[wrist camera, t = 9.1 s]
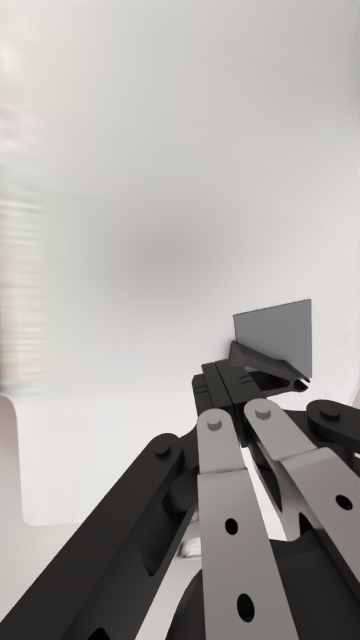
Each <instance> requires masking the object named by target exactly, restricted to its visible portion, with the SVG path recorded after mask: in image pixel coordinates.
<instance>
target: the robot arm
mask: <svg viewBox="0 0 360 640" xmlns="http://www.w3.org/2000/svg"><path fill="white" fill-rule="evenodd" d="M201 367H202V371H203V374H199V375H194V377H193V380H192V387H193V393H194V398H195V404H196V409H197V415H198V419H197V423H196V426H195V427H194V428H193V429H192V430H191V431H190V432H189V433H187V434H186V435H184V436H182V437H180V438H178V437H177V436H176V435H174V434H172V433H164V434H160V435H158V436H156V437H155V438H153V439H152V440H151V441H150V442H149V443H148V445H147V446H146V447H145V448H144V449H143V451H142V452H141V453H140V454H139V456H138V457H137V458H136V459H135V460H134V462H133V463H132V464H131V465H130V466H129V468H128V469H127V470H126V471H125V472H124V474H123V475H122V476H121V477H120V479H119V480H118V481H117V482H116V483H115V485H114V486H113V487H112V488H111V489H110V491H109V492H108V493H107V494H106V495H105V497H104V498H103V499H102V500H101V502H100V503H99V504H98V505H97V506H96V508H95V509H94V510H93V511H92V512H91V514H90V515H89V516H88V517H87V518H86V520H85V521H84V522H83V523H82V524H81V526H80V527H79V528H78V529H77V531H76V532H75V533H74V534H73V536H72V537H71V538H70V539H69V540H68V541H67V543H66V544H65V545H64V546H63V547H62V549H61V550H60V551H59V552H58V554H57V555H56V556H55V557H54V558H53V560H52V561H51V562H50V563H49V564H48V566H47V567H46V568H45V569H44V570H43V572H42V573H41V574H40V575H39V577H38V578H37V579H36V580H35V581H34V583H33V584H32V585H31V586H30V587H29V589H28V590H27V591H26V592H25V593H24V595H23V596H22V597H21V598H20V600H19V601H18V602H17V603H16V604H15V606H14V607H13V608H12V609H11V610H10V612H9V613H8V614H7V615H6V616H5V618H4V619H3V620H2V621H1V623H0V640H135V638H136V636H137V634H138V631H139V629H140V627H141V625H142V623H143V621H144V619H145V617H146V614H147V612H148V610H149V608H150V606H151V604H152V602H153V599H154V597H155V595H156V593H157V591H158V589H159V587H160V585H161V582H162V580H163V578H164V576H165V574H166V572H167V570H168V567H169V565H170V563H171V561H172V559H173V557H174V555H175V553H176V550H177V548H178V546H179V544H180V542H181V540H182V537H183V535H184V533H185V531H186V529H187V527H188V525H189V523H190V521H191V518H192V516H193V514H194V512H195V509H196V506H197V503H198V502H199V519H200V537H201V556H202V569H201V570H199V572H198V573H197V574H196V575H195V576H194V578H193V579H192V580H191V582H190V584H189V585H188V587H187V588H186V590H185V592H184V594H183V596H182V598H181V600H180V602H179V604H178V607H177V609H176V612H175V614H174V617H173V620H172V622H171V625H170V628H169V630H168V633H167V636H166V639H165V640H360V458H358V457H355V453H358V454H360V409H356V408H353V407H350V406H347V405H344V404H341V403H338V402H334V401H330V400H315V401H312V402H310V403H309V404H308V405H307V407H306V411H292V410H284V409H281V408H280V406H279V405H278V404H276V403H275V402H273V401H271V400H268V399H267V398H266V397H265V395H264V394H263V393H262V391H261V390H260V388H259V387H258V386H257V384H256V383H255V381H254V380H253V379H252V377H251V376H250V374H249V373H248V372H247V370H246V369H244V368H243V367H241V366H239V365H238V366H233V367H232V366H231V364H230V363H229V361H228V359H224V360H219V361H215V362H211V363H207V364H202V365H201ZM239 442H240V443H239ZM240 444H241V447H242V448H245V447H248V448H249V450H250V453H251V456H252V462H253V466H254V468H255V470H256V472H257V474H258V476H259V478H260V480H261V482H262V484H263V486H264V488H265V490H266V492H267V494H268V496H269V498H270V500H271V502H272V505H273V507H274V509H275V511H276V513H277V515H278V517H279V519H280V521H281V524H282V526H283V529H284V532H285V535H286V538H287V541H281V540H273V539H269V538H268V535H267V531H266V528H265V525H264V521H263V518H262V515H261V511H260V508H259V505H258V501H257V498H256V494H255V491H254V488H253V484H252V481H251V478H250V475H249V472H248V469H247V467H246V466H245V463H244V460H243V456H242V453H241V450H240Z"/></svg>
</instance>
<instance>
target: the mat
mask: <svg viewBox="0 0 360 640" xmlns="http://www.w3.org/2000/svg"><path fill="white" fill-rule="evenodd" d="M233 317H234V325H235V333H236V340H237V342H238V343H240V344H242V345H244V346H247V347H249V348H251V349H253V350H255V351H258V352H260V353H262V354H264V355H266V356H268V357H271V358H273V359H276V360H286V361H287V362H288V363H290V364H291V365H292V366H293V367H295V368H296V369H297V370H298V371H300V372H301V373H302V374H304V375H305V376H306V377H307V378H312V325H311V299H308V300H303V301H299V302H294V303H289V304H284V305H280V306H275V307H270V308H265V309H261V310H256V311H251V312H246V313H242V314H237V315H233ZM244 369H246V370H247V372H254V371H259V370H257V369H254V368H251V367H248V366H246V367H245V368H244ZM302 379H303V378H300V379H299V380H302Z"/></svg>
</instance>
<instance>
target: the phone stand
mask: <svg viewBox="0 0 360 640" xmlns="http://www.w3.org/2000/svg"><path fill="white" fill-rule="evenodd" d="M229 363H230V364H231V366H232V367H233V366H238V365H239V366H241V367H243V368H245V367H246V366H248V367H251V368H254V369H257V370H259V371H254V372H248V373H249V374H250V376H251V377H252V379H253V380H254V381H255V383H256V384H257V386H258V387H259V388H260V390H261V391H262V393H263V394H264V395H265V397H270V396H274V395H278V394H282V393H286V392H291V391H294V392H303V391H305V390H307V389H308V388H309V387H308V386H306V385H305V384H304V383H303V382H302V381H301V380H299V379H300V378H303V379H304V380H306V381H307V382H308V383H310V380H309V379H308V378H307V377H306V376H305V375H304V374H302V373H301V372H300V371H298V370H297V369H296V368H295V367H293V366H292V365H291V364H290V363H288V362H287V361H286V360H276V359H273V358H271V357H268V356H266V355H264V354H262V353H260V352H258V351H255V350H253V349H251V348H249V347H247V346H244V345H242V344H240V343H238V342H236V341H233V342H232V345H231V350H230V356H229Z"/></svg>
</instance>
